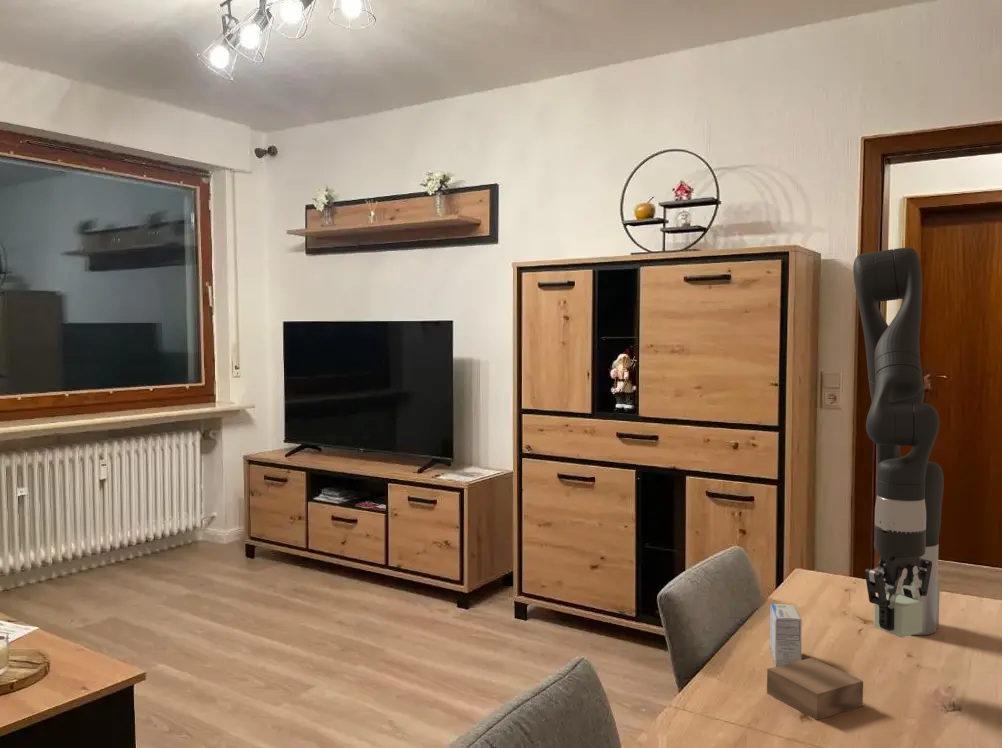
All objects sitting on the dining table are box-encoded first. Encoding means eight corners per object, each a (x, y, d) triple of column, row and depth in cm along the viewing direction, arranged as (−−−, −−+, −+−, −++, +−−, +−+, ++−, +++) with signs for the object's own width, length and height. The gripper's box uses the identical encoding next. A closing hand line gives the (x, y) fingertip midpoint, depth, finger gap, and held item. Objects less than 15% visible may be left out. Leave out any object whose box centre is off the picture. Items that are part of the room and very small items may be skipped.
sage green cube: (894, 621, 135) (895, 592, 134) (921, 631, 130) (922, 601, 130) (874, 627, 133) (875, 597, 132) (901, 637, 128) (902, 607, 128)
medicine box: (801, 668, 138) (802, 619, 138) (774, 666, 139) (775, 617, 139) (794, 651, 146) (795, 604, 146) (768, 649, 147) (769, 602, 146)
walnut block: (811, 681, 133) (811, 657, 133) (862, 706, 124) (863, 681, 124) (766, 693, 129) (767, 668, 129) (816, 720, 120) (817, 693, 120)
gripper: (907, 513, 137) (905, 611, 138) (850, 524, 130) (848, 626, 131) (949, 523, 130) (947, 625, 131) (891, 535, 124) (889, 642, 125)
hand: (897, 625), depth 131 cm, fingers closed on sage green cube, 5 cm apart
